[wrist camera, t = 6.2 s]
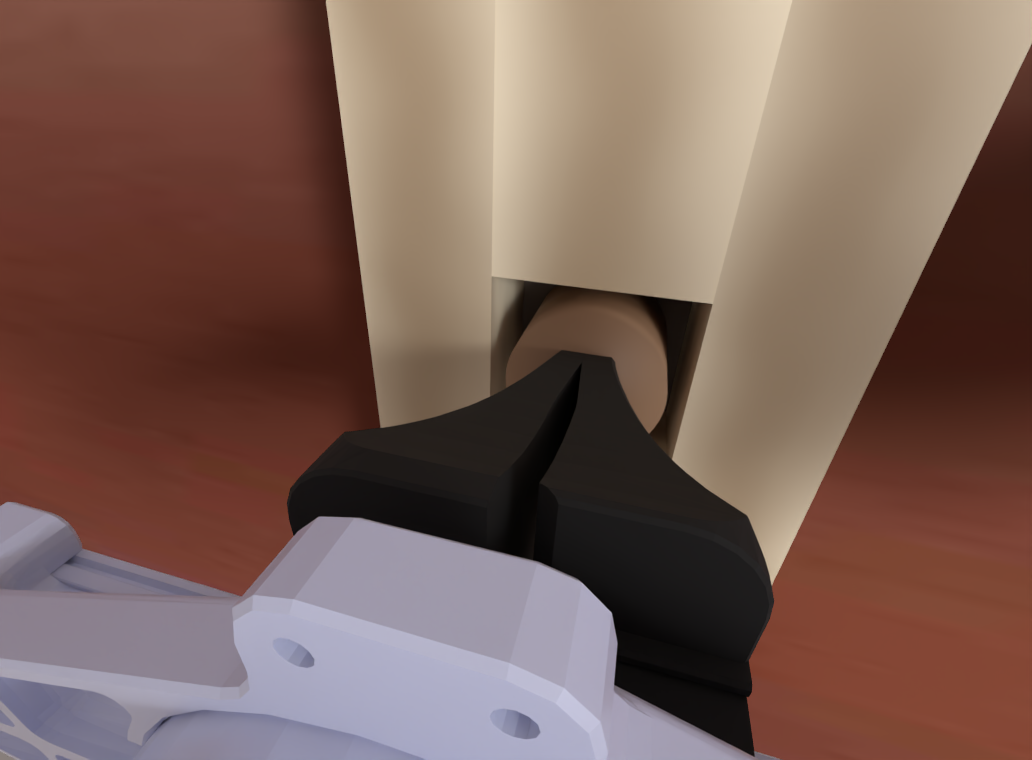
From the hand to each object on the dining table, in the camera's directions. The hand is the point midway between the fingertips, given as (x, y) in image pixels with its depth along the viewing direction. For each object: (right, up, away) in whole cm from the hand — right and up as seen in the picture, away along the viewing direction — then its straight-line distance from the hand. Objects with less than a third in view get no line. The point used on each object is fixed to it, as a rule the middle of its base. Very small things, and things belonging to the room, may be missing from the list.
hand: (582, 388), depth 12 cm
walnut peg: (+1, +2, +3) cm, 3 cm away
